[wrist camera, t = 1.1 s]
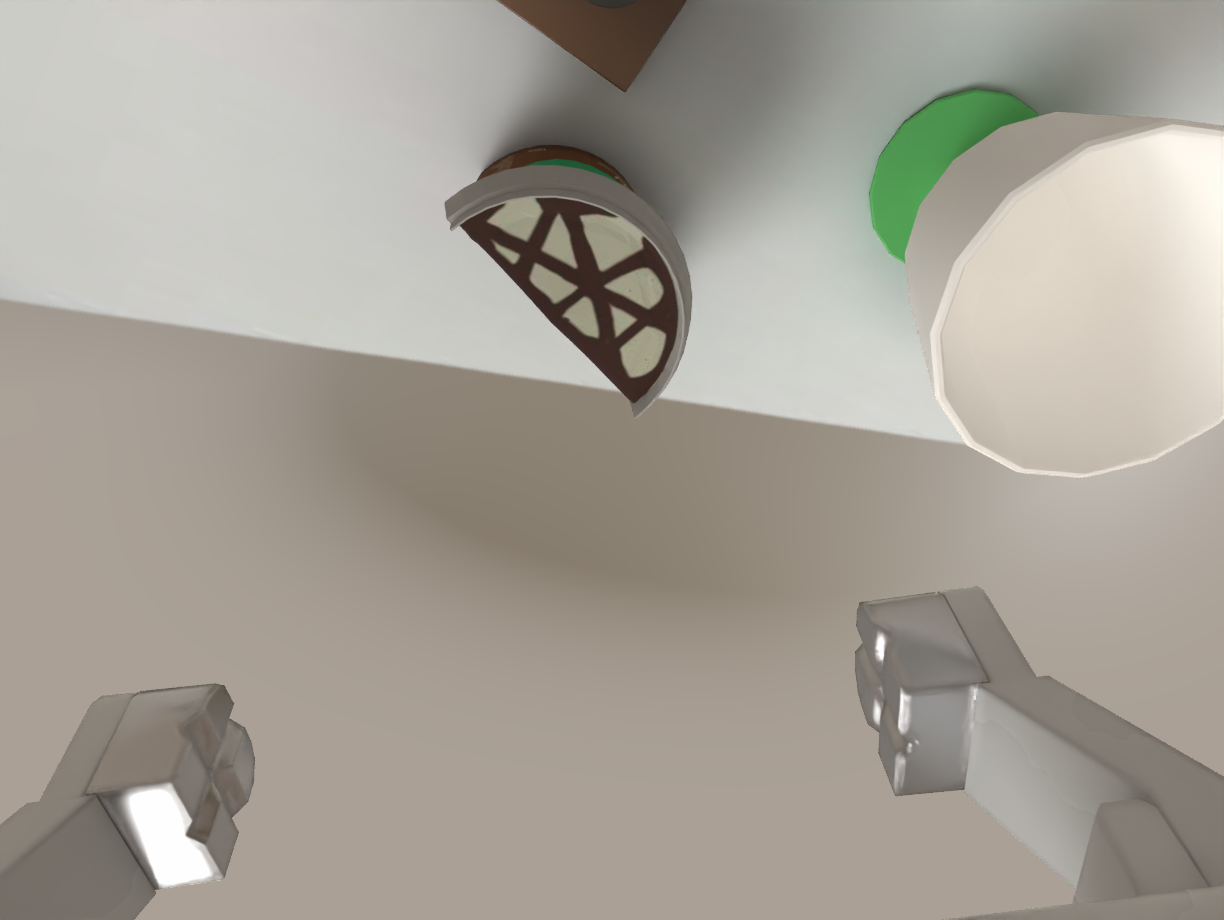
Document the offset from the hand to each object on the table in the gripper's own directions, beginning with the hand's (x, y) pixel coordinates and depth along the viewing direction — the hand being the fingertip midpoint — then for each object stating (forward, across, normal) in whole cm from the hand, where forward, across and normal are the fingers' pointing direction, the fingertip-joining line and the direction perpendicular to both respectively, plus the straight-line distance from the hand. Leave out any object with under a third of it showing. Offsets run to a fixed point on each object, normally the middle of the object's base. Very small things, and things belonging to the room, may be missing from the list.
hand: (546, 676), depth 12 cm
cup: (+37, -20, +7) cm, 43 cm away
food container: (+37, -2, +6) cm, 38 cm away
